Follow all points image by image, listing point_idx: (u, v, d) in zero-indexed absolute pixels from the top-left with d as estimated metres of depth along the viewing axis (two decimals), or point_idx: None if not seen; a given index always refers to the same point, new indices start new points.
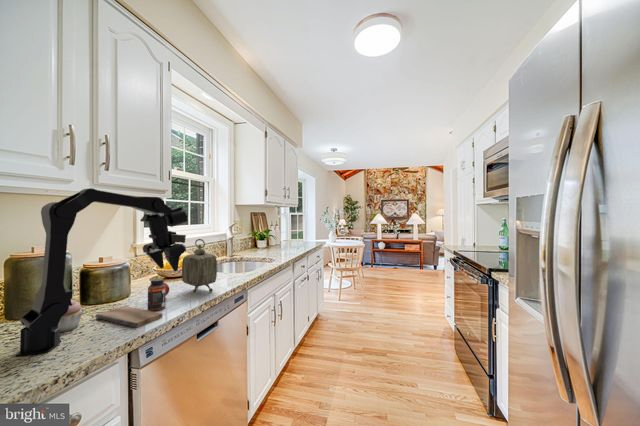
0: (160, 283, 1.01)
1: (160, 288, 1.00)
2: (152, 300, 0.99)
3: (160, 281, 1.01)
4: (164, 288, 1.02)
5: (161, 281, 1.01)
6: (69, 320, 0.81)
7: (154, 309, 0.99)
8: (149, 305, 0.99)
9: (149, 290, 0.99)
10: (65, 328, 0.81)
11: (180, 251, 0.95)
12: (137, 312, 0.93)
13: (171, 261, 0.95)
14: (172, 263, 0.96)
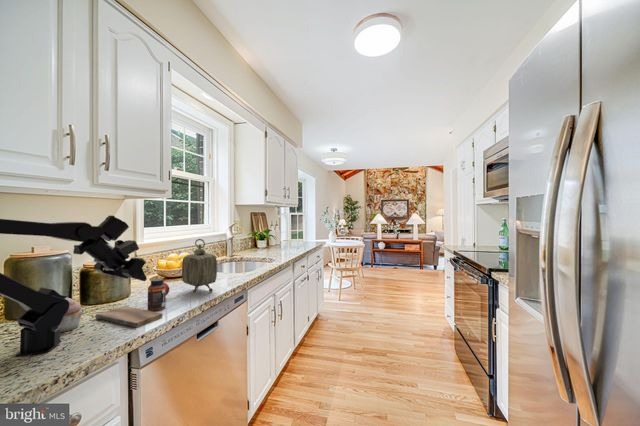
0: (160, 283, 1.01)
1: (160, 288, 1.00)
2: (152, 300, 0.99)
3: (160, 281, 1.01)
4: (164, 288, 1.02)
5: (161, 281, 1.01)
6: (69, 320, 0.81)
7: (154, 309, 0.99)
8: (149, 305, 0.99)
9: (149, 290, 0.99)
10: (65, 328, 0.81)
11: (140, 266, 0.86)
12: (137, 312, 0.93)
13: (136, 277, 0.88)
14: (138, 277, 0.89)
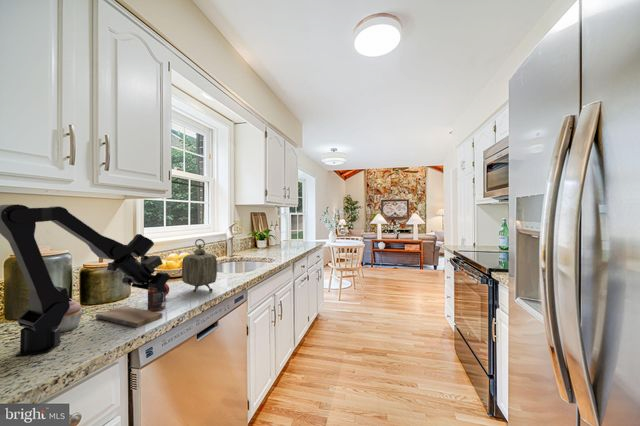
0: None
1: None
2: (152, 300, 0.99)
3: None
4: None
5: None
6: (69, 320, 0.81)
7: (154, 309, 0.99)
8: (149, 305, 0.99)
9: (149, 290, 0.99)
10: (65, 328, 0.81)
11: (165, 280, 0.95)
12: (137, 312, 0.93)
13: (158, 289, 0.97)
14: (159, 290, 0.98)
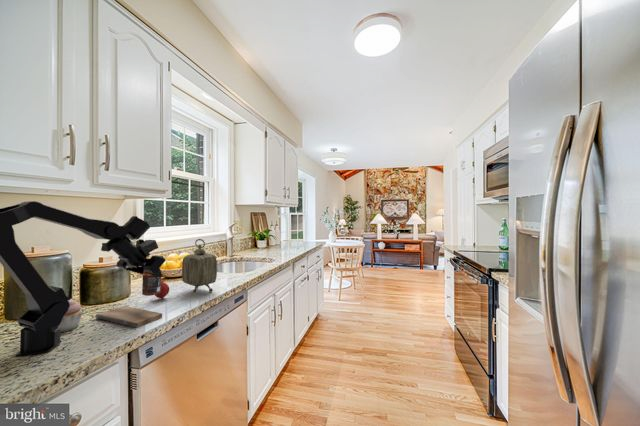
0: None
1: None
2: (146, 284, 0.97)
3: None
4: None
5: None
6: (69, 320, 0.81)
7: (149, 294, 0.97)
8: (144, 289, 0.97)
9: (144, 274, 0.97)
10: (65, 328, 0.81)
11: (160, 264, 0.93)
12: (137, 312, 0.93)
13: (153, 273, 0.95)
14: (155, 274, 0.96)
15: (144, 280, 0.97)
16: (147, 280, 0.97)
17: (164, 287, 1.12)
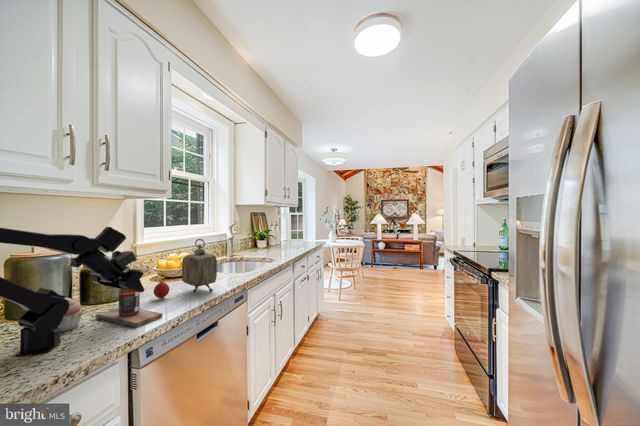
0: None
1: (132, 291, 0.91)
2: (123, 304, 0.89)
3: None
4: None
5: None
6: (69, 320, 0.81)
7: (126, 314, 0.89)
8: (120, 310, 0.89)
9: (120, 293, 0.90)
10: (65, 328, 0.81)
11: (138, 278, 0.86)
12: None
13: (133, 288, 0.87)
14: (135, 289, 0.88)
15: (120, 300, 0.90)
16: (123, 300, 0.89)
17: (164, 287, 1.12)
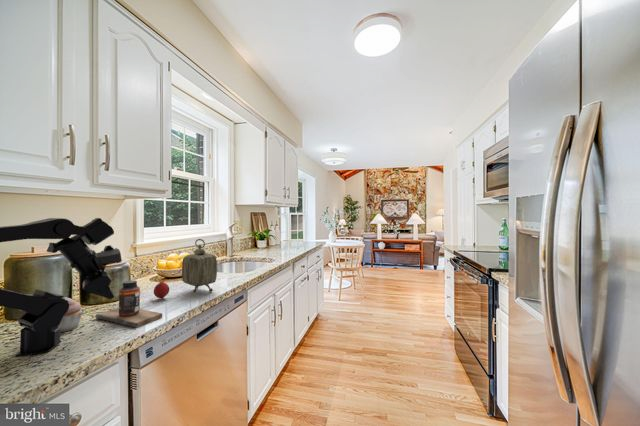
0: (133, 285, 0.92)
1: (133, 291, 0.91)
2: (123, 304, 0.89)
3: (133, 283, 0.92)
4: (138, 291, 0.92)
5: (134, 283, 0.92)
6: (69, 320, 0.81)
7: (126, 314, 0.89)
8: (120, 310, 0.89)
9: (120, 293, 0.90)
10: (65, 328, 0.81)
11: (100, 285, 0.76)
12: None
13: (97, 293, 0.79)
14: (101, 294, 0.79)
15: (120, 300, 0.90)
16: (124, 300, 0.89)
17: (164, 287, 1.12)
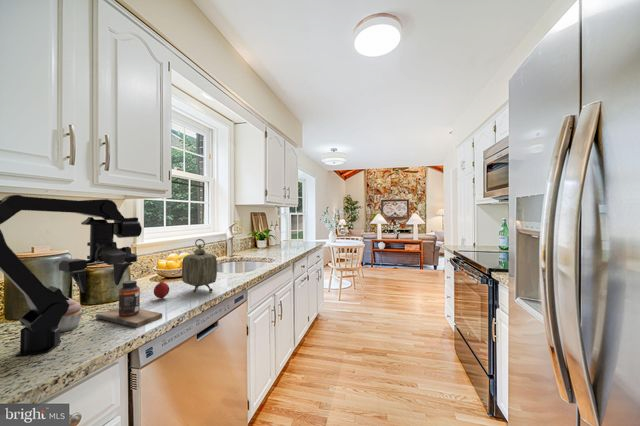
0: (133, 285, 0.92)
1: (133, 291, 0.91)
2: (123, 304, 0.89)
3: (133, 283, 0.92)
4: (137, 291, 0.92)
5: (134, 283, 0.92)
6: (69, 320, 0.81)
7: (126, 314, 0.89)
8: (120, 310, 0.89)
9: (120, 293, 0.90)
10: (65, 328, 0.81)
11: (64, 269, 0.74)
12: None
13: (73, 277, 0.77)
14: (75, 280, 0.78)
15: (120, 300, 0.90)
16: (123, 300, 0.89)
17: (164, 287, 1.12)
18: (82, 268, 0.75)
